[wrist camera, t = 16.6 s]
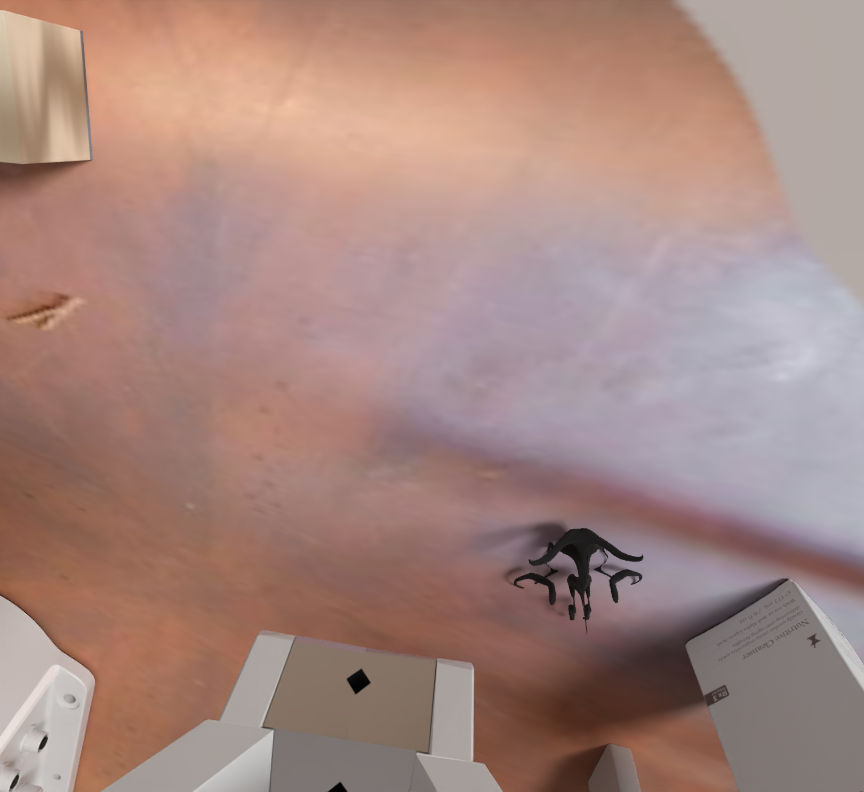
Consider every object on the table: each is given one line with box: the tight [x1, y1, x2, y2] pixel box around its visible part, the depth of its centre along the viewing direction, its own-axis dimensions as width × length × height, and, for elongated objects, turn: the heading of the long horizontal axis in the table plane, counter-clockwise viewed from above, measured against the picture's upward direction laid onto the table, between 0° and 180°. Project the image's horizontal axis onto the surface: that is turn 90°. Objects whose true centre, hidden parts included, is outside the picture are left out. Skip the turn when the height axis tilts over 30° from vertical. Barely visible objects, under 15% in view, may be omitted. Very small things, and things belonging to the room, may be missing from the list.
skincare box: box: [685, 580, 864, 792], centre depth 37 cm, size 8×6×15 cm
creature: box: [514, 528, 643, 632], centre depth 41 cm, size 8×5×8 cm
